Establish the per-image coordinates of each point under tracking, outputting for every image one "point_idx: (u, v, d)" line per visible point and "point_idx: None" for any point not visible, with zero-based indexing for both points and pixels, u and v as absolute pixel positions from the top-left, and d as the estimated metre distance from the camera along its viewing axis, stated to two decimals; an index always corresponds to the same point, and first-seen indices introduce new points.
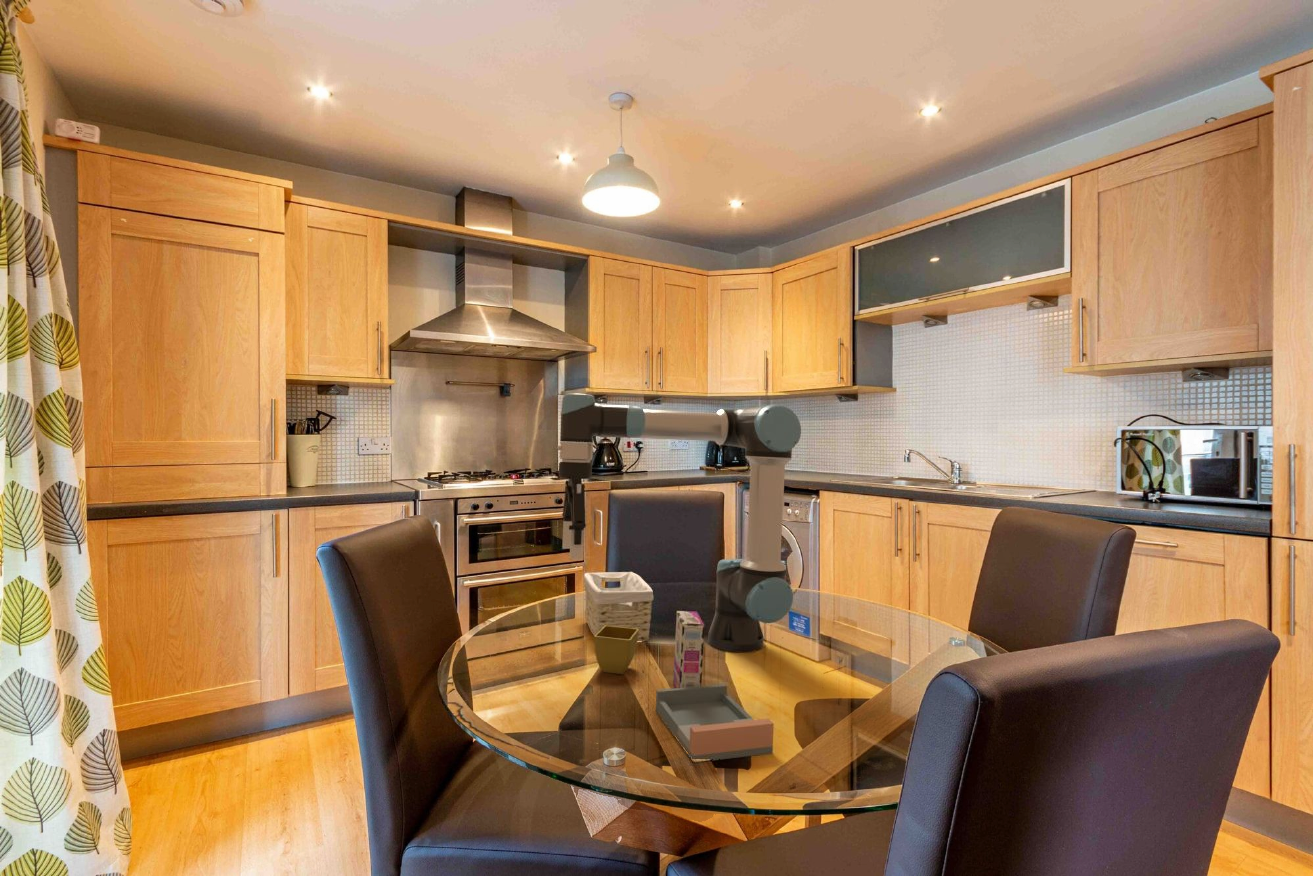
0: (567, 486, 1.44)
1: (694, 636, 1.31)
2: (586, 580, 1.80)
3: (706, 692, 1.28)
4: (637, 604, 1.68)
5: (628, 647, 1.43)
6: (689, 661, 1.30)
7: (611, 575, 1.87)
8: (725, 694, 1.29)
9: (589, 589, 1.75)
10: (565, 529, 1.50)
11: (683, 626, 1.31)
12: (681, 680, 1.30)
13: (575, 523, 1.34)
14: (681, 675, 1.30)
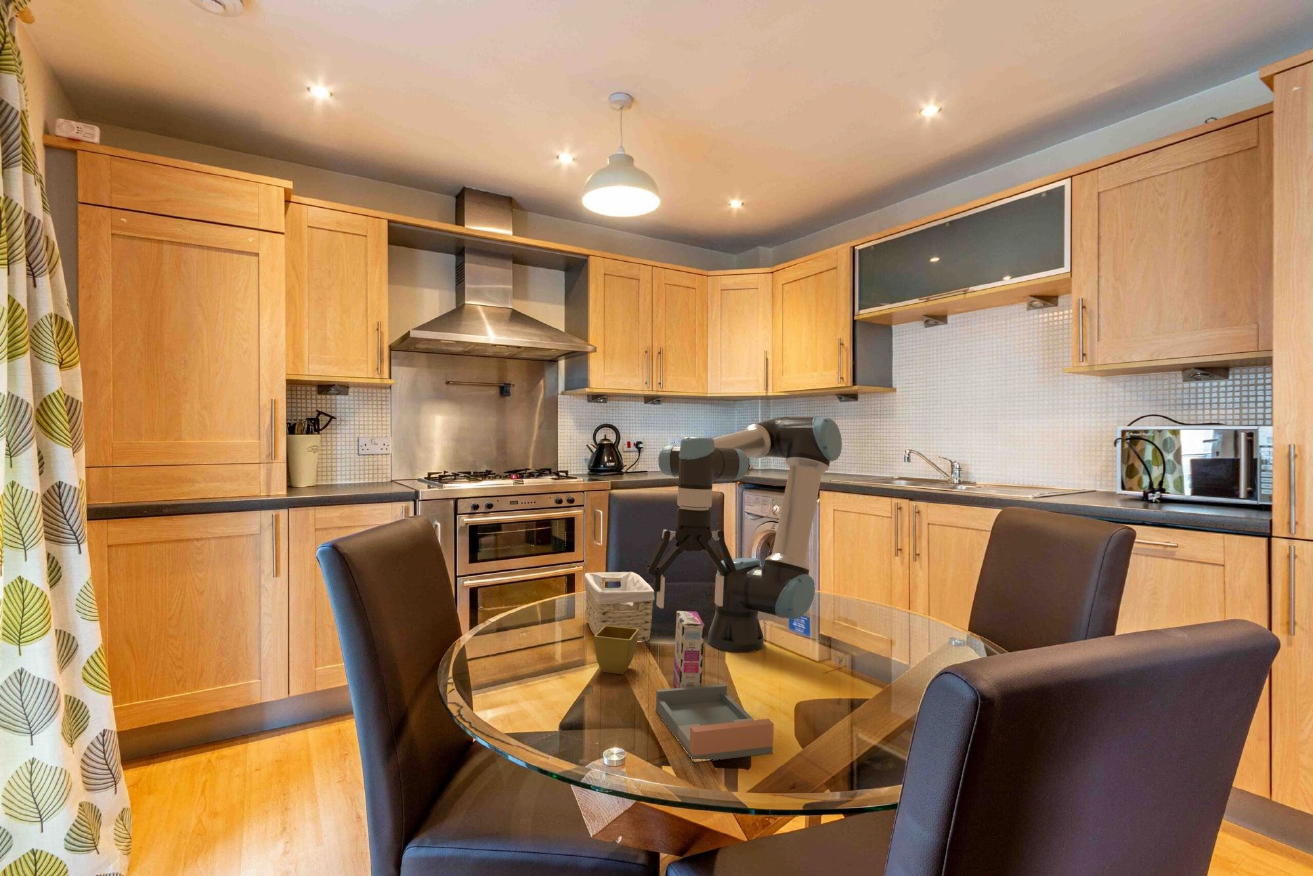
0: None
1: (694, 636, 1.31)
2: (587, 580, 1.80)
3: (706, 692, 1.28)
4: (638, 604, 1.68)
5: (628, 647, 1.43)
6: (689, 661, 1.30)
7: (611, 575, 1.87)
8: (725, 694, 1.29)
9: (590, 589, 1.75)
10: (716, 582, 1.39)
11: (683, 626, 1.31)
12: (681, 680, 1.30)
13: (646, 567, 1.34)
14: (681, 675, 1.30)
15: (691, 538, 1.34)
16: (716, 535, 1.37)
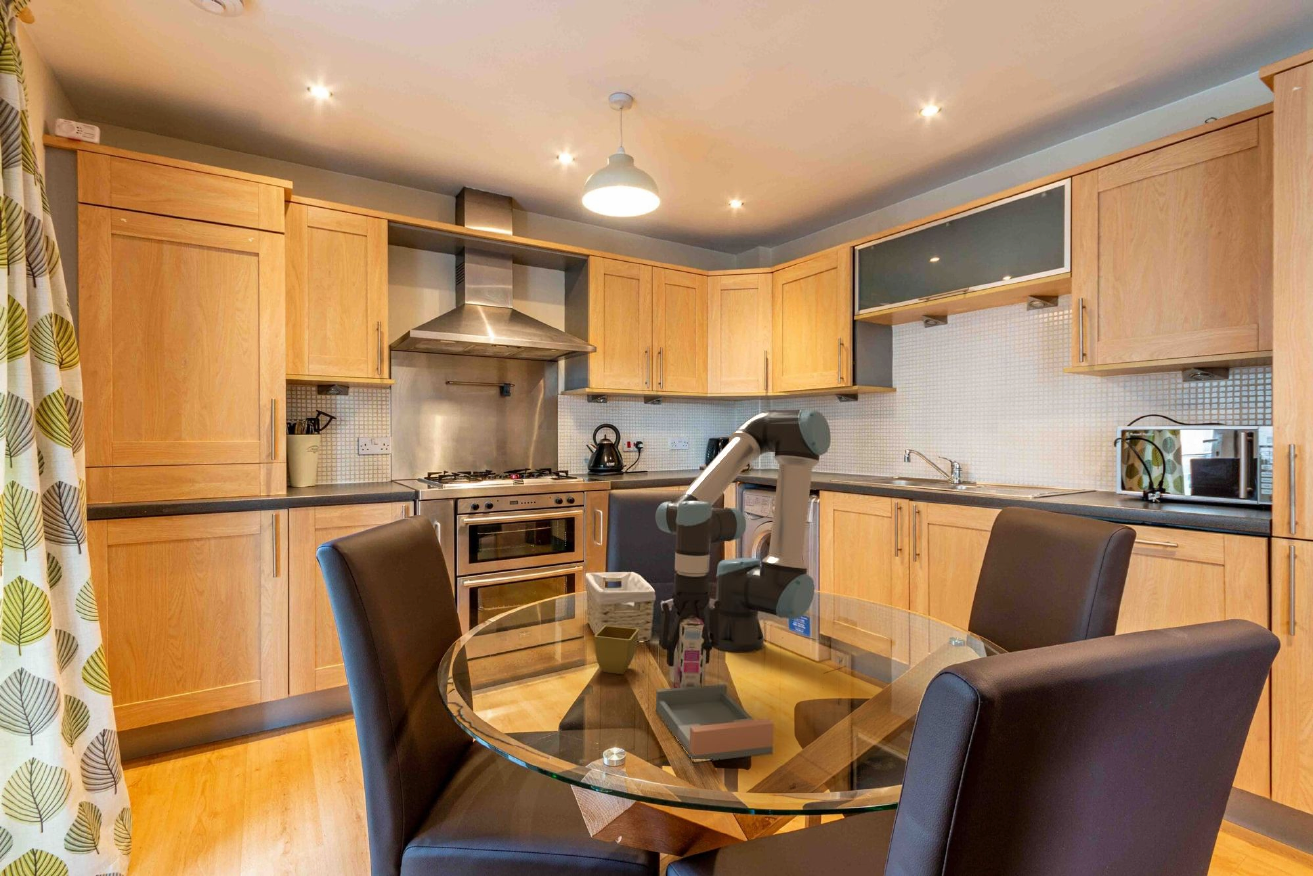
0: None
1: (694, 636, 1.31)
2: (588, 580, 1.80)
3: (706, 692, 1.28)
4: (639, 604, 1.69)
5: (628, 647, 1.43)
6: (689, 661, 1.30)
7: (612, 575, 1.87)
8: (725, 694, 1.29)
9: (591, 589, 1.75)
10: None
11: (683, 626, 1.31)
12: (681, 680, 1.30)
13: (659, 641, 1.35)
14: (681, 675, 1.30)
15: (688, 604, 1.34)
16: (712, 603, 1.37)
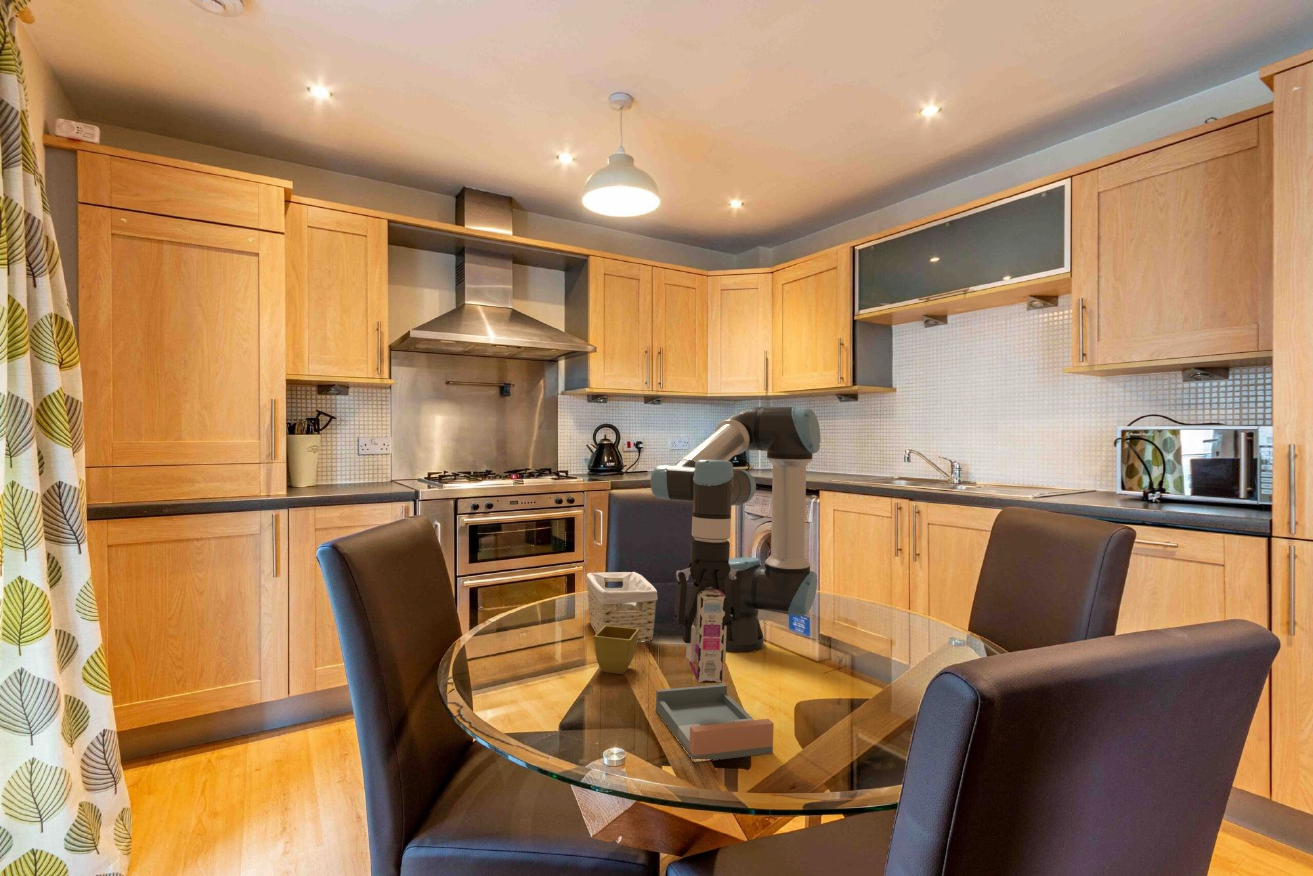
0: None
1: (714, 608, 1.16)
2: (589, 580, 1.80)
3: (706, 692, 1.28)
4: (641, 604, 1.69)
5: (628, 647, 1.43)
6: (709, 637, 1.16)
7: (613, 575, 1.87)
8: (725, 694, 1.29)
9: (593, 589, 1.75)
10: None
11: (702, 597, 1.16)
12: (700, 658, 1.16)
13: (675, 616, 1.21)
14: (700, 652, 1.16)
15: (707, 573, 1.19)
16: (734, 574, 1.23)
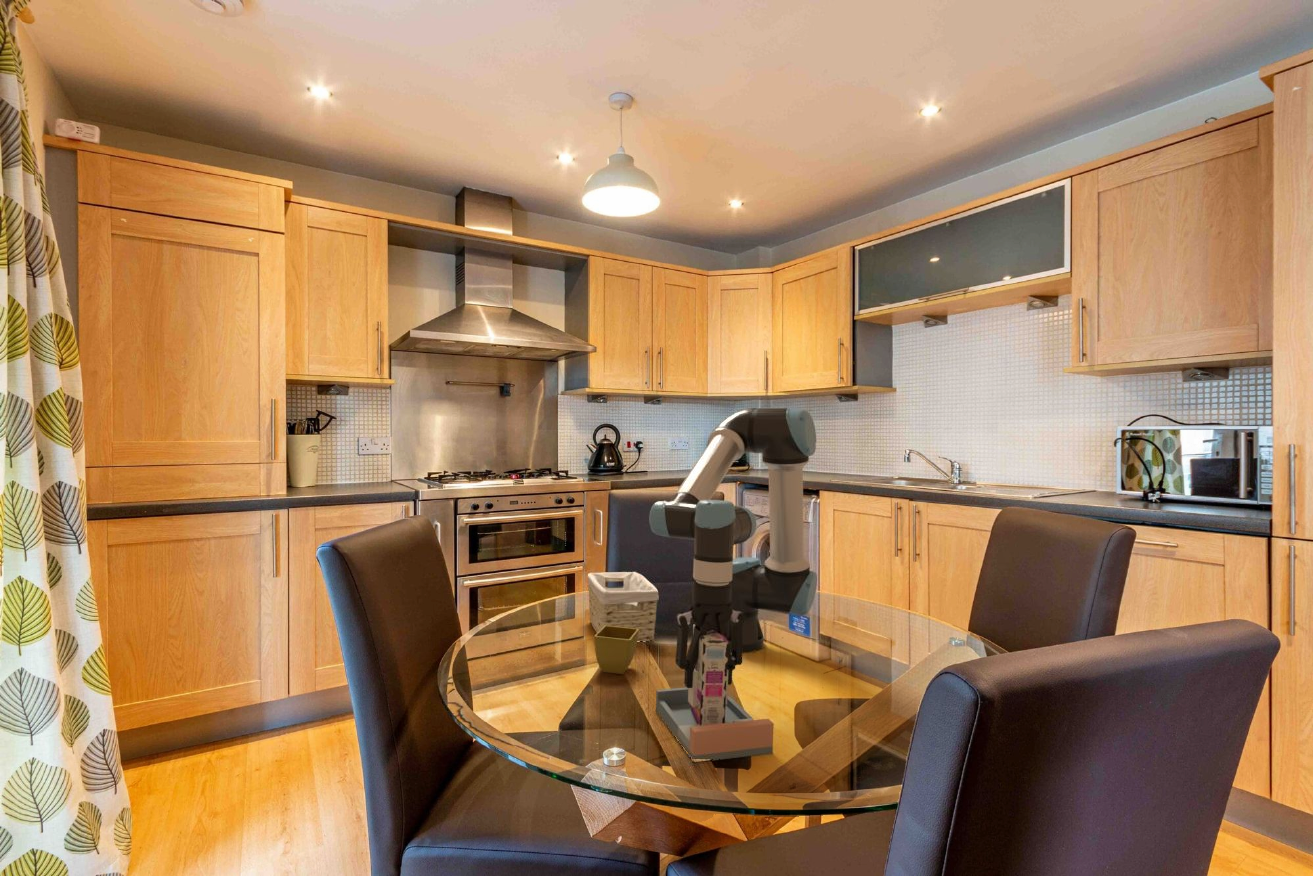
0: None
1: (716, 654, 1.14)
2: (590, 580, 1.80)
3: None
4: (642, 604, 1.69)
5: (628, 647, 1.43)
6: (711, 683, 1.14)
7: (614, 575, 1.87)
8: None
9: (594, 589, 1.75)
10: None
11: (704, 644, 1.14)
12: (702, 705, 1.14)
13: (676, 660, 1.19)
14: (702, 699, 1.14)
15: (709, 617, 1.18)
16: (736, 616, 1.21)
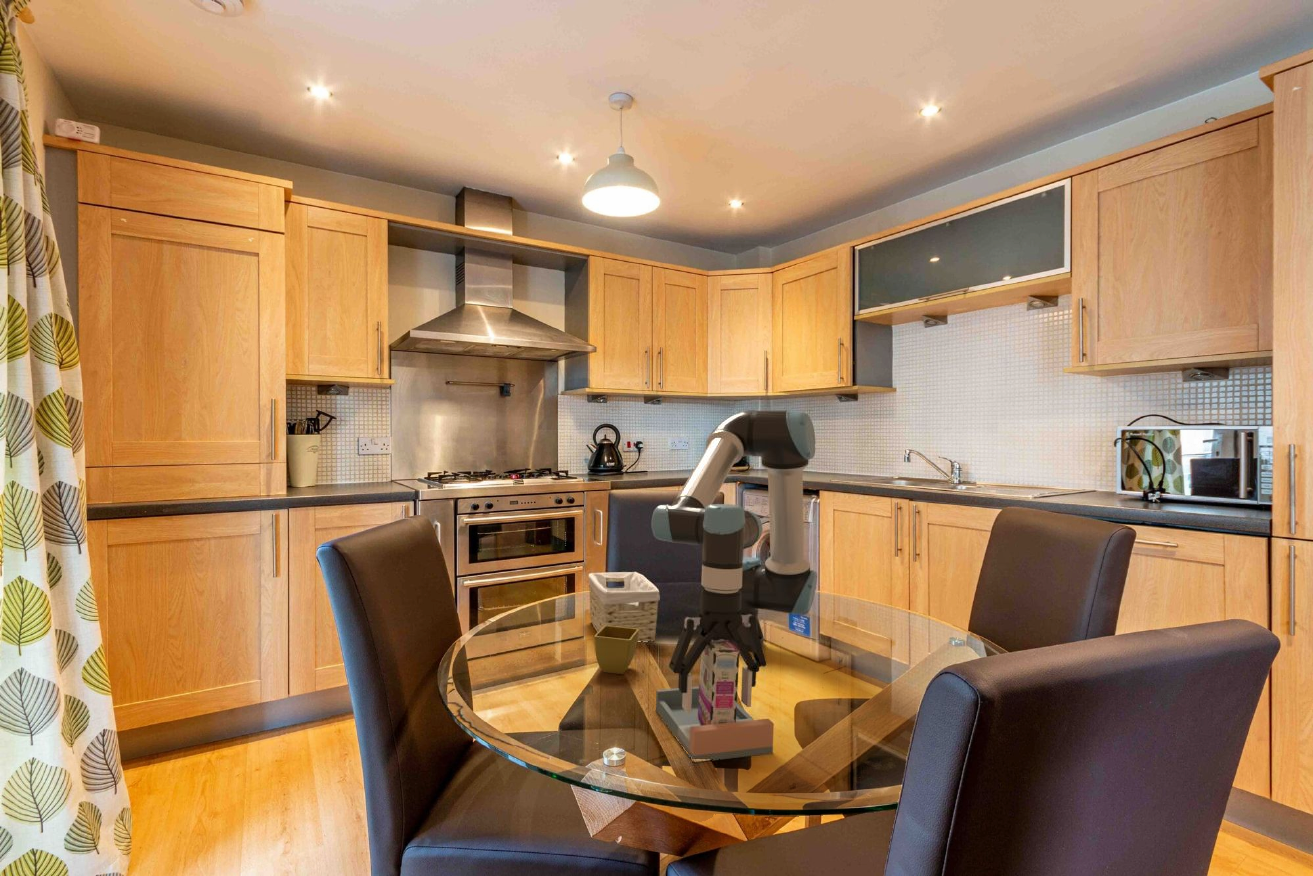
0: None
1: (727, 664, 1.11)
2: (591, 580, 1.80)
3: None
4: (643, 604, 1.69)
5: (628, 647, 1.43)
6: (722, 694, 1.11)
7: (615, 575, 1.88)
8: None
9: (595, 589, 1.75)
10: (743, 677, 1.18)
11: (715, 653, 1.11)
12: (712, 717, 1.10)
13: (670, 663, 1.14)
14: (712, 711, 1.10)
15: (718, 626, 1.14)
16: (747, 621, 1.17)
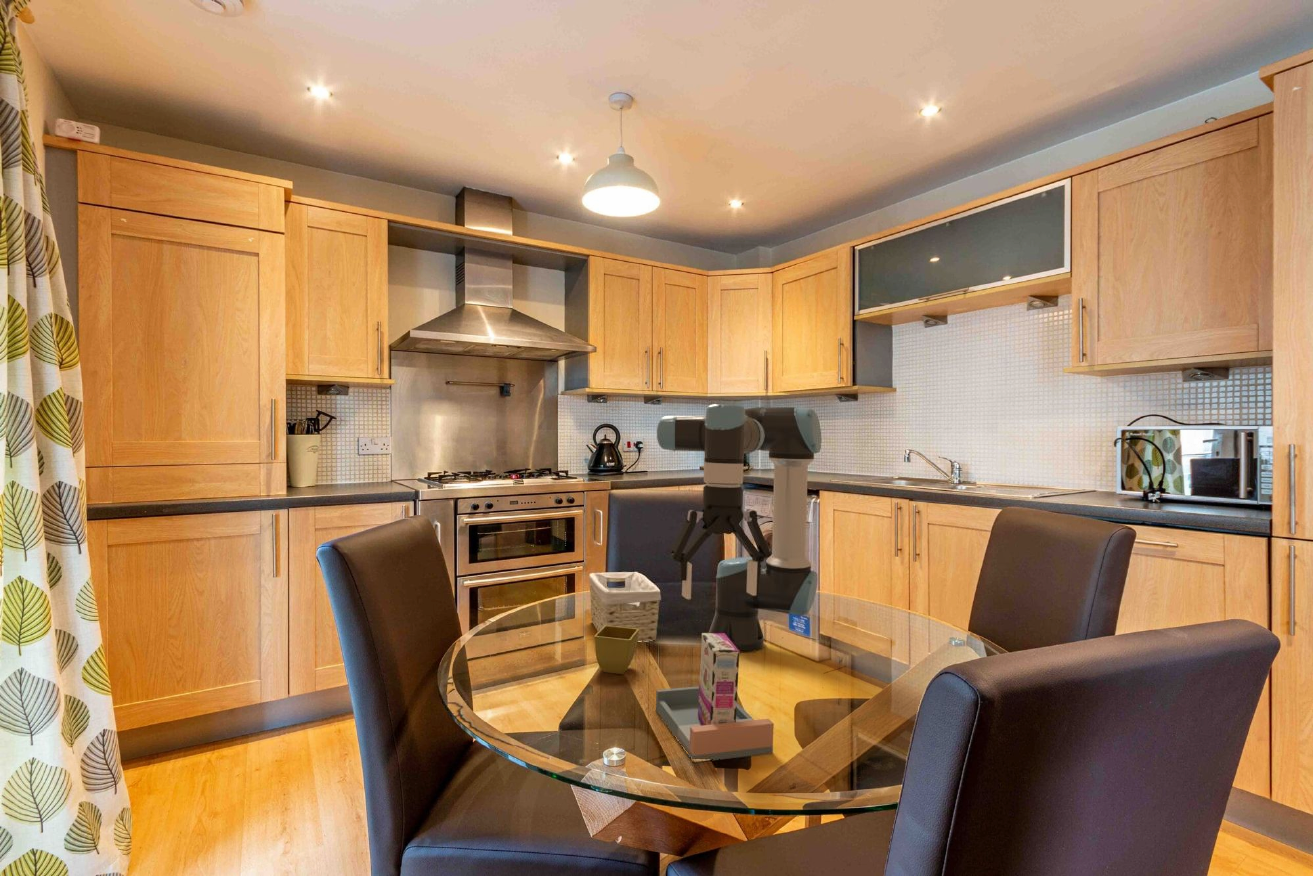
0: None
1: (727, 664, 1.11)
2: (592, 580, 1.80)
3: None
4: (645, 604, 1.69)
5: (628, 647, 1.43)
6: (722, 694, 1.11)
7: (616, 575, 1.88)
8: None
9: (595, 589, 1.75)
10: (748, 569, 1.23)
11: (715, 653, 1.11)
12: (712, 717, 1.10)
13: (670, 553, 1.18)
14: (712, 711, 1.10)
15: (721, 519, 1.18)
16: (748, 515, 1.21)
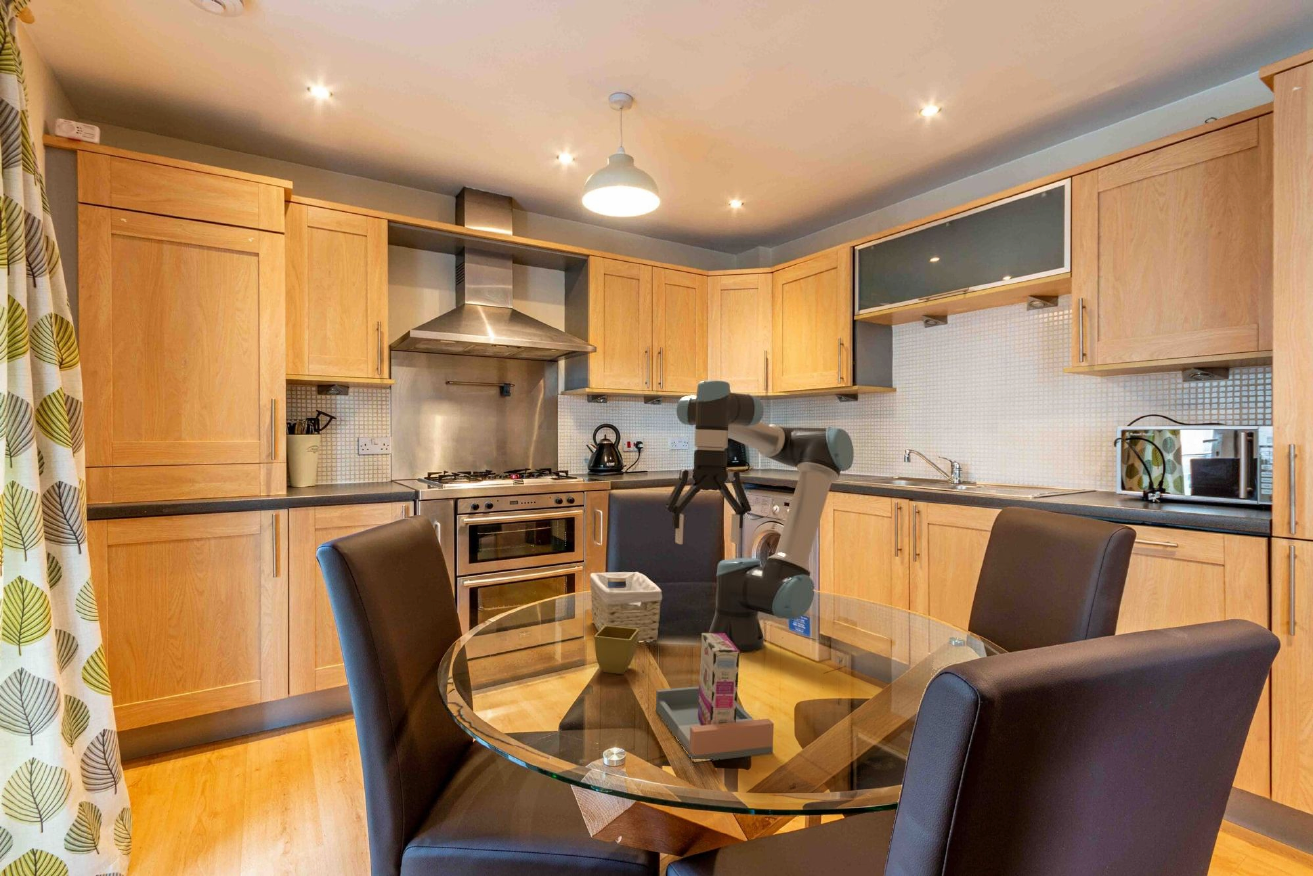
0: None
1: (727, 664, 1.11)
2: (593, 580, 1.80)
3: None
4: (646, 604, 1.69)
5: (628, 647, 1.43)
6: (722, 694, 1.11)
7: (616, 575, 1.88)
8: None
9: (597, 589, 1.75)
10: (732, 522, 1.44)
11: (715, 653, 1.11)
12: (712, 717, 1.10)
13: (665, 505, 1.39)
14: (712, 711, 1.10)
15: (708, 477, 1.39)
16: (732, 476, 1.43)
